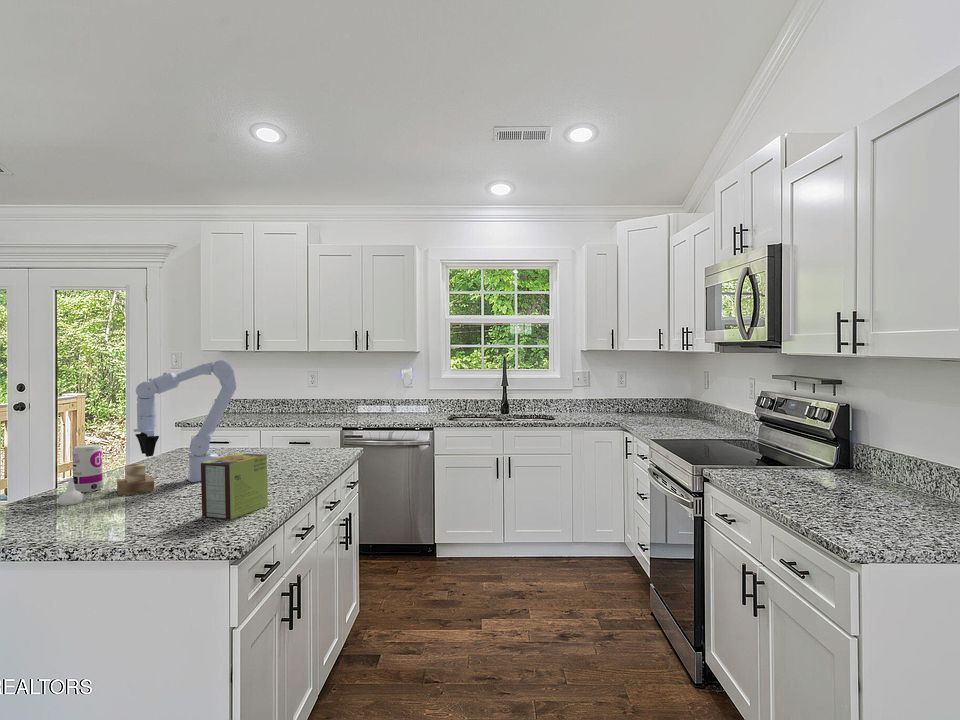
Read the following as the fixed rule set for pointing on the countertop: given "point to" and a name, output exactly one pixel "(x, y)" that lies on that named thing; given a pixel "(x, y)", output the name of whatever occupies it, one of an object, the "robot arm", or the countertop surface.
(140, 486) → the walnut block
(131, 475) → the maple cube
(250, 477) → the protein box
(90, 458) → the supplement can
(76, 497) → the garlic bulb
